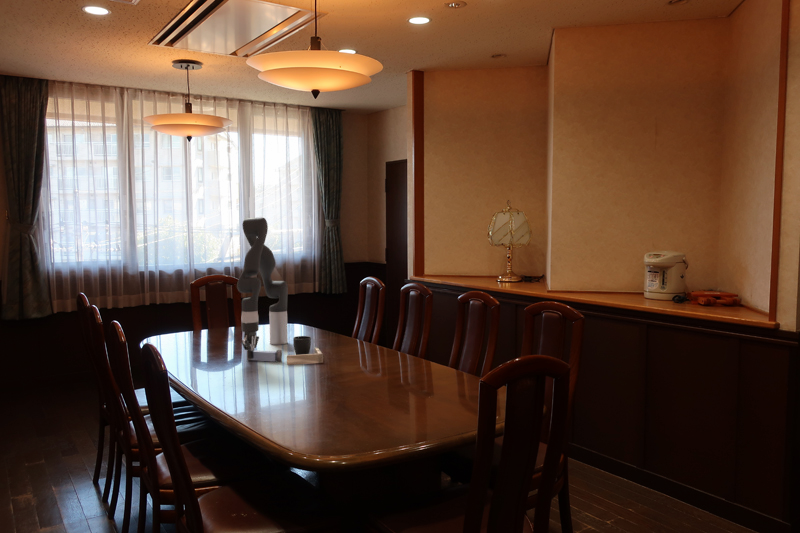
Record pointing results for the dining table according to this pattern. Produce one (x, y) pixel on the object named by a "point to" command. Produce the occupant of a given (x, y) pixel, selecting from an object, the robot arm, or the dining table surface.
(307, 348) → the mug
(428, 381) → the dining table surface
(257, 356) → the leg
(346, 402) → the dining table surface
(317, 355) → the seat frame
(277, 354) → the hinge post
